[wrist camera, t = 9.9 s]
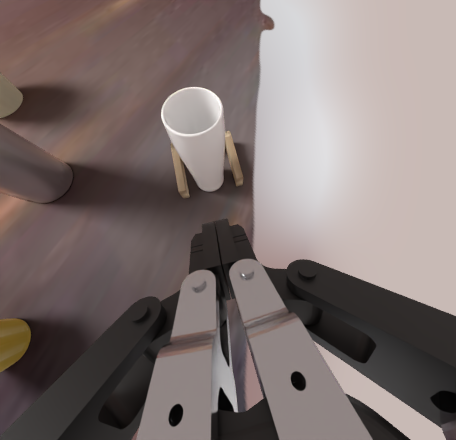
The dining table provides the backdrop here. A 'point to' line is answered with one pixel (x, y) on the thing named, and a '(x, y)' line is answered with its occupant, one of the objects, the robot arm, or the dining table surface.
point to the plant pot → (13, 341)
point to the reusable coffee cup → (8, 97)
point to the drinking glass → (197, 133)
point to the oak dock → (181, 171)
